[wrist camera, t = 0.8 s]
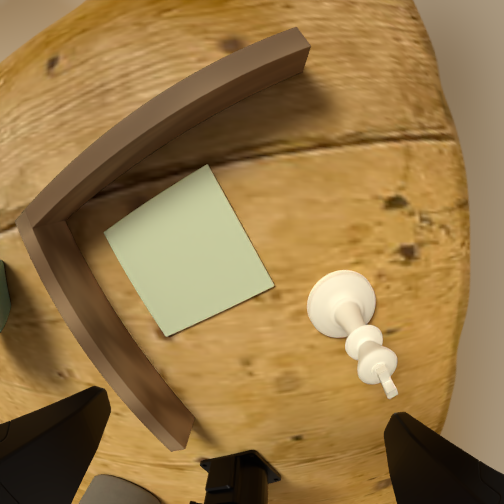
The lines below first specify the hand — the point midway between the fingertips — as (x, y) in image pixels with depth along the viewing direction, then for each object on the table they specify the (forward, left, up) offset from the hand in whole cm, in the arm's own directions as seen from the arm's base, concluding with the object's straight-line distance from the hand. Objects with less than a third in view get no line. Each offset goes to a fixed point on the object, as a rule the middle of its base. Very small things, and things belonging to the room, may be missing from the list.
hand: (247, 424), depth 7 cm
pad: (+4, +4, -13) cm, 14 cm away
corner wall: (+2, +2, -13) cm, 13 cm away
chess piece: (-4, -4, -13) cm, 14 cm away
